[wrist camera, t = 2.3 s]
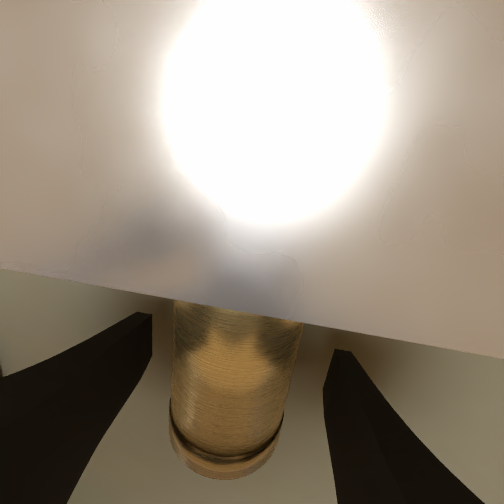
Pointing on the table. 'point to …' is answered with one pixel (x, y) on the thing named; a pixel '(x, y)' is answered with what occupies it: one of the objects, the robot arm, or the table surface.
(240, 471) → the amber cylinder
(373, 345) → the table surface
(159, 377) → the table surface
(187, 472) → the table surface
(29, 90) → the housing
